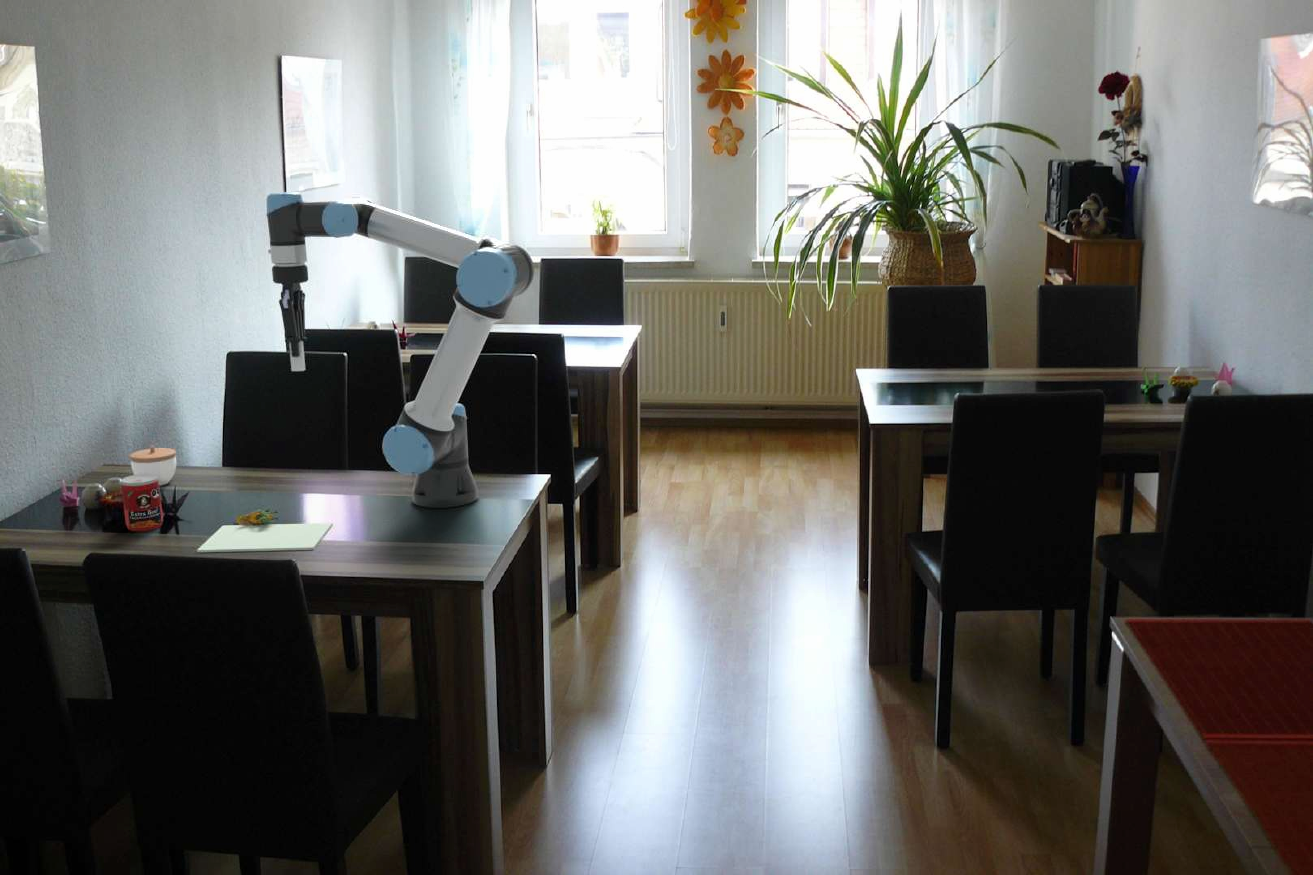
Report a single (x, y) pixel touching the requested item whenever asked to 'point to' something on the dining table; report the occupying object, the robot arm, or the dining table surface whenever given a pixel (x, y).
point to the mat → (266, 537)
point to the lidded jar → (155, 463)
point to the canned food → (142, 502)
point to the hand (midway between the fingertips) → (298, 370)
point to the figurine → (257, 517)
